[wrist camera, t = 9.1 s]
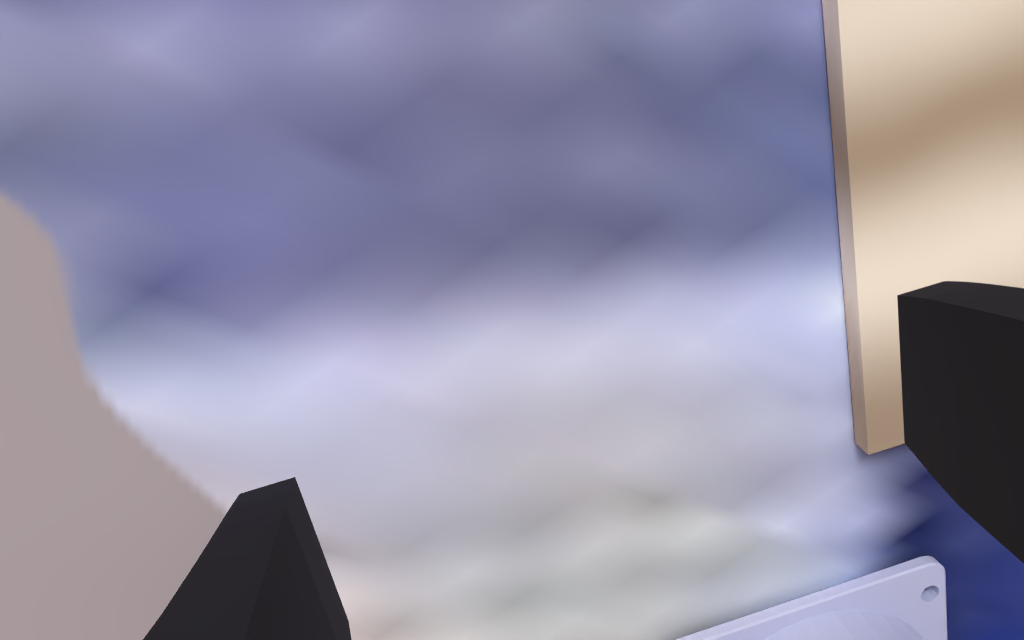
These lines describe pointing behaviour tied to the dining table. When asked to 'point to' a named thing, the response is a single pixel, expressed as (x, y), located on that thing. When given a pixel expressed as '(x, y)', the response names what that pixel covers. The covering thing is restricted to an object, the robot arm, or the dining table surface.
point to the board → (921, 170)
